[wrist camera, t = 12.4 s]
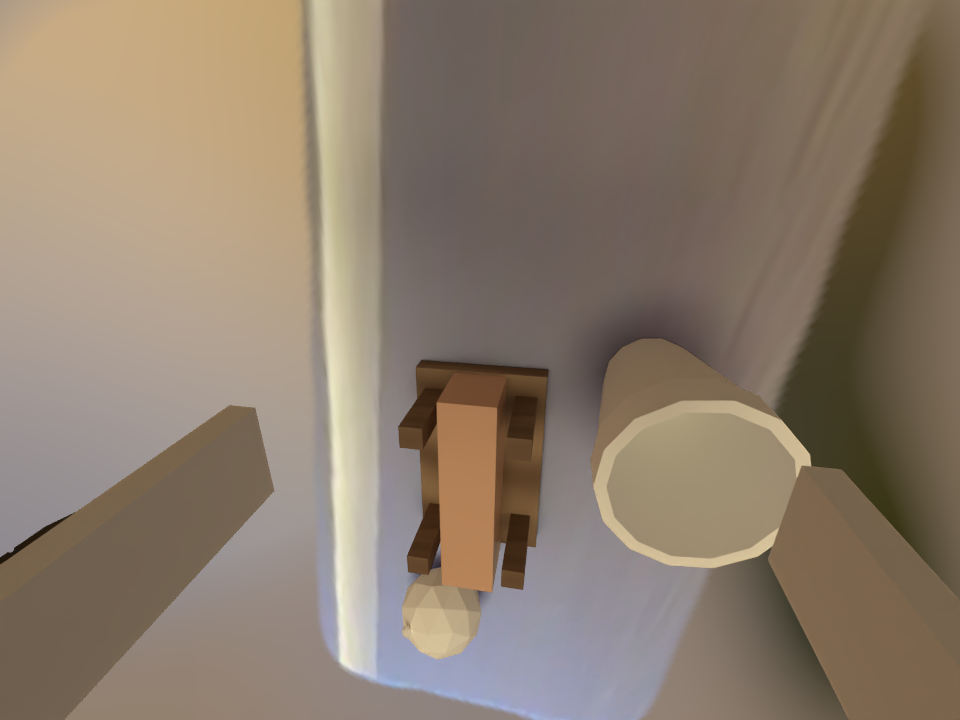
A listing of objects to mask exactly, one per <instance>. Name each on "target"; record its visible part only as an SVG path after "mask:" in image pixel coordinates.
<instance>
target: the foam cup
mask: <svg viewBox="0 0 960 720" xmlns="http://www.w3.org/2000/svg"><path fill="white" fill-rule="evenodd" d="M801 466H811V462H810V454H809V453H808V452H807V450H806V449H805V448H804V447H803V445H802V444H801V443H800V442H799V441H798V440H797V438H796V437H795V436H794V435H793V433H792V432H791V431H790V430H789V428H788V427H787V426H786V425H785V424H784V422H783V421H782V420H781V419H780V418H779V417H778V416H777V415H776V414H775V412H774V411H773V410H772V409H771V408H770V407H769V406H768V405H767V404H766V403H765V402H764V401H763V400H762V399H761V398H760V396H758V395H755V394H753V393H751V392H748V391H746V390H743V389H741V388H739V387H738V386H737V385H735V384H734V383H732V382H731V381H729V380H728V379H727V378H725V377H724V376H722V375H721V374H719V373H718V372H717V371H715V370H714V369H712V368H711V367H709V366H708V365H707V364H705V363H704V362H702V361H701V360H699V359H698V358H697V357H695V356H694V355H692V354H691V353H689V352H688V351H687V350H685V349H684V348H682V347H680V346H678V345H676V344H674V343H671V342H669V341H666V340H664V339H662V338H659V339H639V340H637V341H635V342H633V343H630V344H628V345H626V346H624V347H622V348H621V349H620V350H619V351H618V352H617V353H616V354H615V355H614V357H613V358H612V359H611V360H610V361H609V363H608V367H607V370H606V374H605V378H604V382H603V391H602V399H601V408H600V416H599V425H598V433H597V438H596V442H595V445H594V449H593V452H592V456H591V468H592V478H593V487H594V490H595V494H596V498H597V501H598V505H599V509H600V512H601V516H602V520H603V522H604V523H605V524H606V525H607V526H608V527H609V528H610V529H611V530H612V531H613V532H614V533H615V534H616V535H617V536H618V537H619V538H620V539H621V540H622V541H623V542H624V543H625V544H626V546H627V547H628V548H629V549H632V550H634V551H636V552H639V553H641V554H643V555H646V556H648V557H650V558H653V559H655V560H657V561H660V562H662V563H664V564H667V565H675V566H690V567H705V568H715V567H719V566H723V565H727V564H731V563H734V562H738V561H742V560H746V559H750V558H753V557H757V556H759V555H760V554H762V553H763V552H764V551H766V550H767V549H769V548H770V547H772V546H773V544H774V541H775V538H776V535H777V533H778V530H779V527H780V524H781V521H782V519H783V516H784V513H785V510H786V508H787V505H788V502H789V499H790V496H791V494H792V491H793V488H794V485H795V482H796V480H797V477H798V474H799V471H800V468H801Z"/></svg>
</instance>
